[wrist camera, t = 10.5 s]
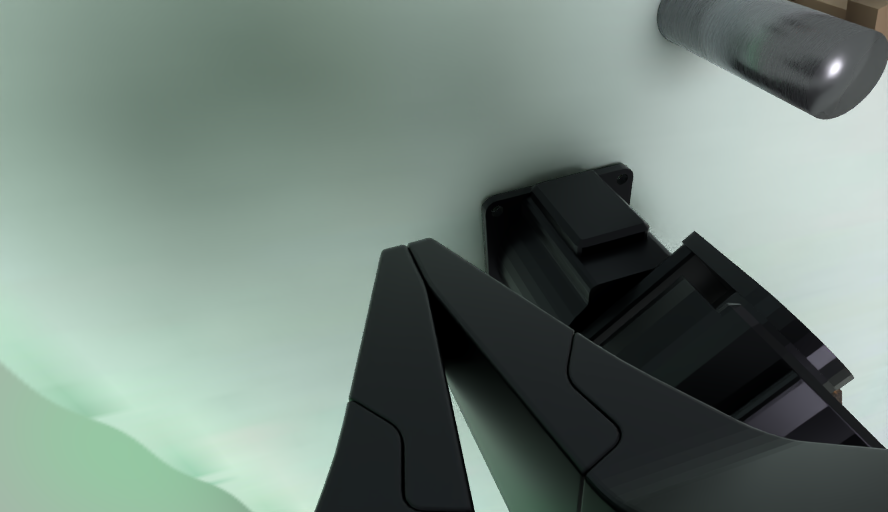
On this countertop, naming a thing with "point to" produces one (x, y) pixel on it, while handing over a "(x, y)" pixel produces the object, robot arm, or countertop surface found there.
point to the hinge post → (782, 49)
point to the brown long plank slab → (854, 11)
